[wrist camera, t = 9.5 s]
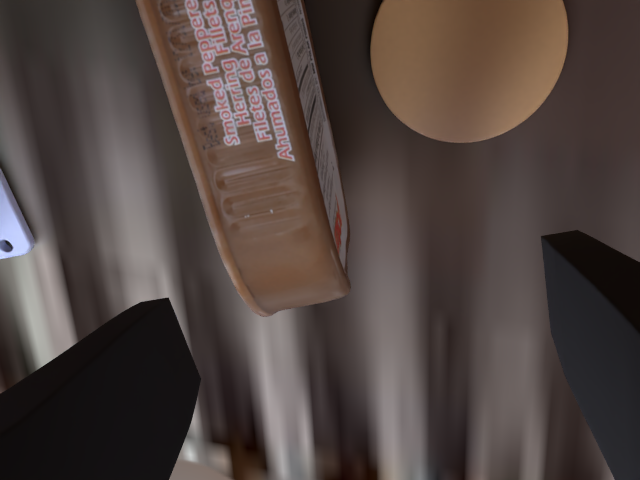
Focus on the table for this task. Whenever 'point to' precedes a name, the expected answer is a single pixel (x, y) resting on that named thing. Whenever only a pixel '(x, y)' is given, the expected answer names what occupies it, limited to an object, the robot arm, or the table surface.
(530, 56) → the cork coaster
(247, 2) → the tin
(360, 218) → the table surface
